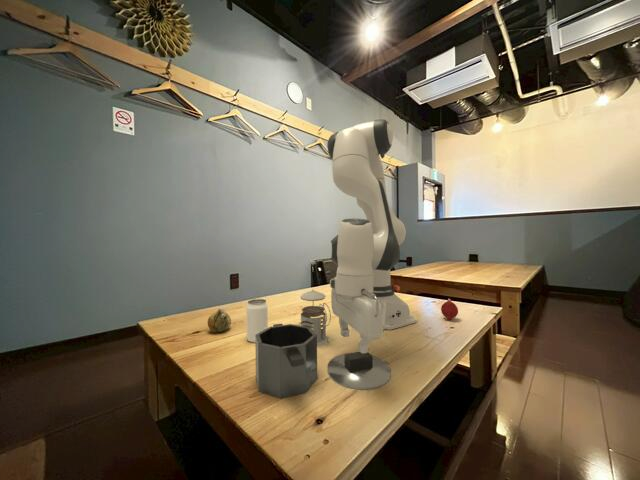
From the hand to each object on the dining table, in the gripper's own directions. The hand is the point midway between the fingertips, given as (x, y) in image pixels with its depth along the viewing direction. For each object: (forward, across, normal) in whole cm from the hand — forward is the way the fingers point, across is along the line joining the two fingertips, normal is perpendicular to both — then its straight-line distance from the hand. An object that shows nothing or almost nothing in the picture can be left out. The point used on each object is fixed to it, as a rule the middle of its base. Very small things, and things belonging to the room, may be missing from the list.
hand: (353, 343), depth 60 cm
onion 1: (+8, +39, +32) cm, 51 cm away
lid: (+7, 0, -2) cm, 7 cm away
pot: (+7, +2, +16) cm, 17 cm away
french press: (+7, +20, +3) cm, 21 cm away
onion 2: (+5, +20, -51) cm, 55 cm away
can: (+7, +27, +20) cm, 35 cm away
